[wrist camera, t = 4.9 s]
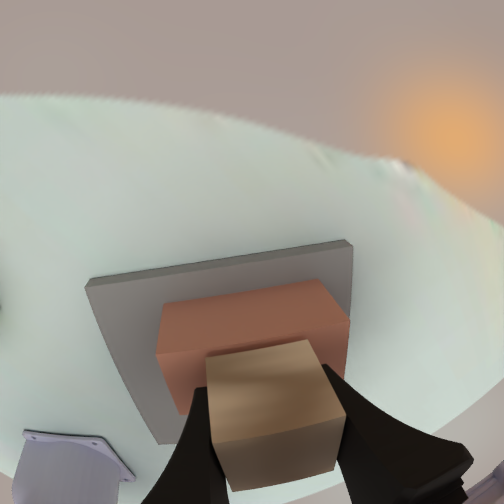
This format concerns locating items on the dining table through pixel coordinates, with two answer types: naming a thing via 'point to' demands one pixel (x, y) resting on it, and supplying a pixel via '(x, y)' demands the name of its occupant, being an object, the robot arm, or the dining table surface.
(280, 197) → the dining table surface
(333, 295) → the building plate
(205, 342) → the terracotta brick
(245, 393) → the beech cube
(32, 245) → the dining table surface
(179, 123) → the dining table surface
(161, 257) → the dining table surface
